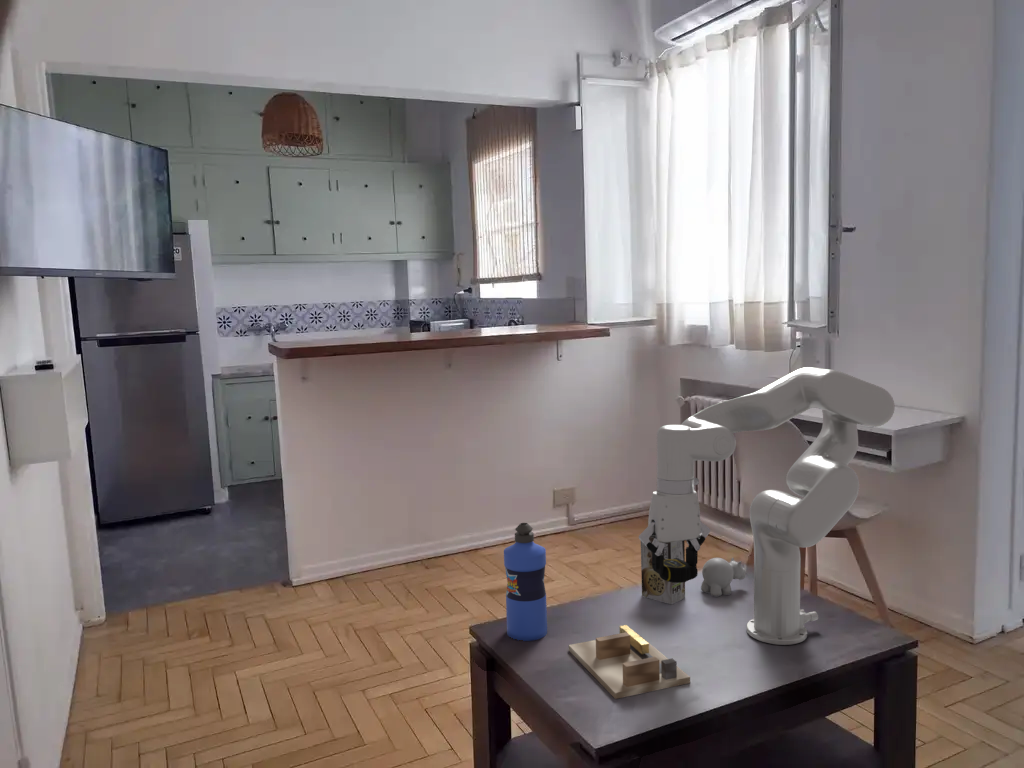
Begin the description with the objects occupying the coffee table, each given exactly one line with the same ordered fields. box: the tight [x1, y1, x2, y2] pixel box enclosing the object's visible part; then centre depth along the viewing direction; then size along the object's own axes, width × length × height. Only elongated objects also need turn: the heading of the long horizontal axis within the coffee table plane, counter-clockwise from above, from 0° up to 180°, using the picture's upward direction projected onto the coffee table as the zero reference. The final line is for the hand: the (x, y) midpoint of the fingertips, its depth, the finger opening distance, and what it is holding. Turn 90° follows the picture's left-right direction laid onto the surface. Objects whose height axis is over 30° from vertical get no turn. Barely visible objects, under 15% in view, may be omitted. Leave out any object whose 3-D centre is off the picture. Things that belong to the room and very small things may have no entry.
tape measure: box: [659, 558, 699, 583], centre depth 165 cm, size 7×7×4 cm
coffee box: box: [640, 537, 686, 605], centre depth 196 cm, size 9×6×16 cm
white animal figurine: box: [700, 557, 747, 597], centre depth 199 cm, size 8×12×9 cm, turn 111°
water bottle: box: [503, 522, 548, 642], centre depth 178 cm, size 9×9×25 cm
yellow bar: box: [619, 624, 649, 654], centre depth 168 cm, size 2×10×2 cm, turn 19°
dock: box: [568, 631, 691, 700], centre depth 162 cm, size 16×22×5 cm
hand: (674, 569), depth 165 cm, fingers closed on tape measure, 7 cm apart
